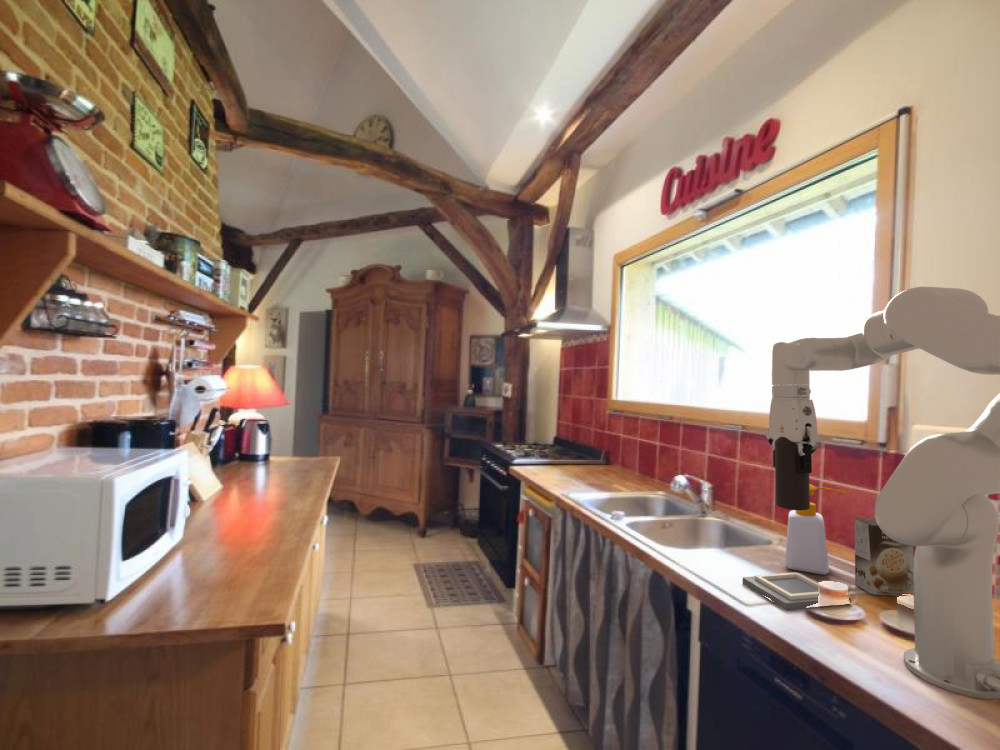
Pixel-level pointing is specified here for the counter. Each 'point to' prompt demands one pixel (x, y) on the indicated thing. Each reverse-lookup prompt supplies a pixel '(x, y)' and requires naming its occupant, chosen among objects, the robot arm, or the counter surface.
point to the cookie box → (881, 561)
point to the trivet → (786, 589)
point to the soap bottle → (807, 539)
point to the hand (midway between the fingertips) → (791, 469)
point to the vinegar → (790, 477)
